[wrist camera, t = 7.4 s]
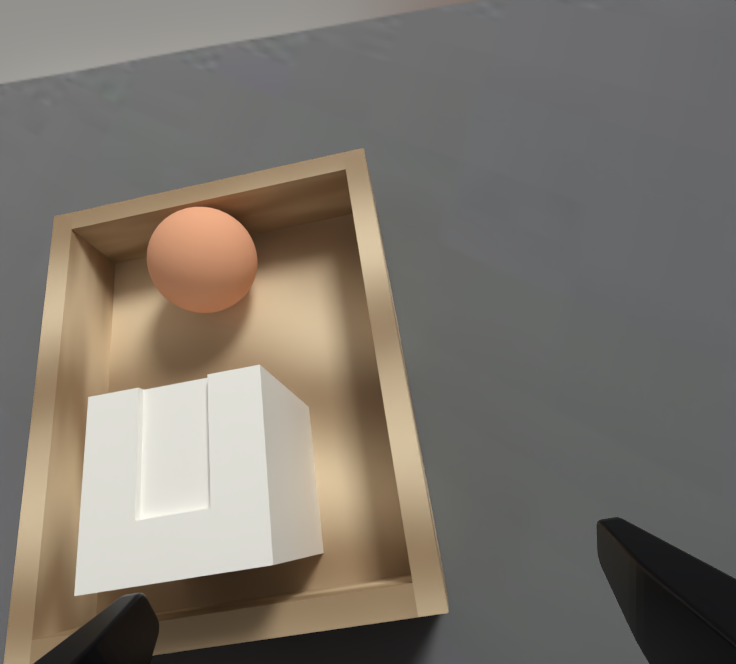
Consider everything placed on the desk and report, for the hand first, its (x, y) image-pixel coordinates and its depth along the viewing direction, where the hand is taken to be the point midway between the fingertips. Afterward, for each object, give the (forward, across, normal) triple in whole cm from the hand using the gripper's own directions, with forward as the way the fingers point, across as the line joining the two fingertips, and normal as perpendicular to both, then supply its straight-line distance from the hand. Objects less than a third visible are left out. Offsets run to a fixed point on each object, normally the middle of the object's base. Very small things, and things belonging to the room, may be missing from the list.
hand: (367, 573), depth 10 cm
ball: (+11, -5, +4) cm, 13 cm away
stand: (+7, -5, -3) cm, 9 cm away
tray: (+10, -5, -1) cm, 11 cm away
